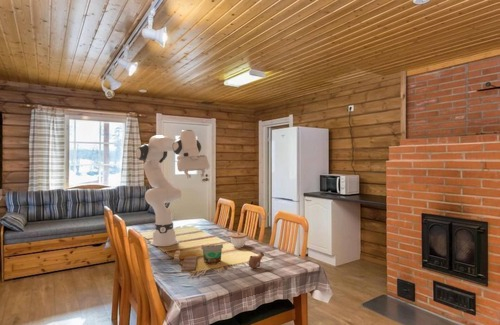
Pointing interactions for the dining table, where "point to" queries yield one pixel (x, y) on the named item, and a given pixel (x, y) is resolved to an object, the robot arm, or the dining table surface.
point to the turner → (176, 258)
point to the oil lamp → (255, 260)
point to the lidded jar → (238, 239)
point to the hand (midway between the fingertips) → (196, 177)
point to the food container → (212, 253)
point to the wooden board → (189, 264)
